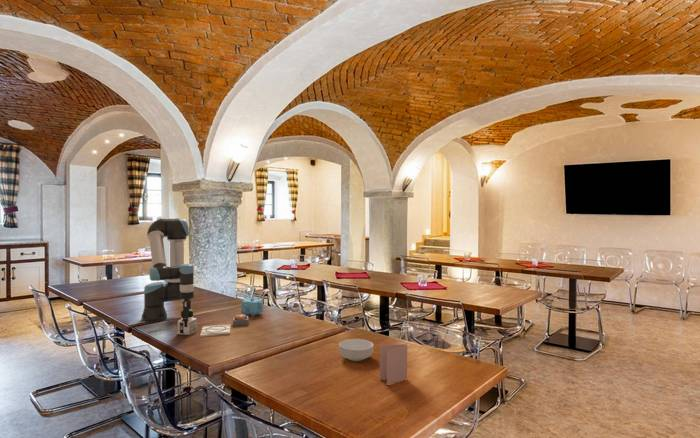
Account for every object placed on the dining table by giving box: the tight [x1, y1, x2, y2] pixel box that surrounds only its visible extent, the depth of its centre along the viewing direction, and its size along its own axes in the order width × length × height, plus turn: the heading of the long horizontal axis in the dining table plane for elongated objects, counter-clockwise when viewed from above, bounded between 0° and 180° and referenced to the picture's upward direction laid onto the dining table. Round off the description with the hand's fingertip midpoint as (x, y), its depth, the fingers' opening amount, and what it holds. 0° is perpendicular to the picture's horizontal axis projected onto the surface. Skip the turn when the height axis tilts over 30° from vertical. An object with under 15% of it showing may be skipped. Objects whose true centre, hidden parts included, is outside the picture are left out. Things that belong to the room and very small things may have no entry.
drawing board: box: [199, 323, 232, 338], centre depth 247 cm, size 18×16×1 cm
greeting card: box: [379, 344, 408, 386], centre depth 176 cm, size 11×7×15 cm, turn 92°
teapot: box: [240, 296, 264, 318], centre depth 286 cm, size 16×18×11 cm
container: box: [177, 309, 198, 336], centre depth 244 cm, size 8×8×13 cm
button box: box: [232, 315, 249, 327], centre depth 263 cm, size 9×9×4 cm
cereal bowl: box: [338, 338, 375, 362], centre depth 204 cm, size 17×17×7 cm
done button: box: [235, 313, 246, 320], centre depth 263 cm, size 6×6×2 cm
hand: (187, 329), depth 244 cm, fingers closed on container, 10 cm apart
